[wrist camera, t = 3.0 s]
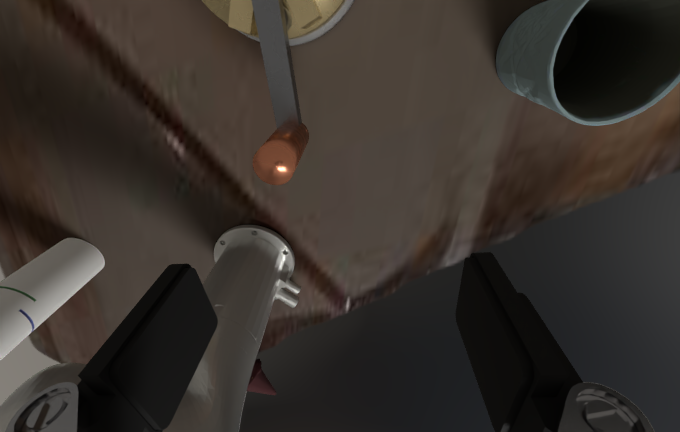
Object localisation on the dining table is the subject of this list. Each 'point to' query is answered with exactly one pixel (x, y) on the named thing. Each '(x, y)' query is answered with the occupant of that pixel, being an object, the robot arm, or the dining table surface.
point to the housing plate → (321, 31)
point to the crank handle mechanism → (278, 70)
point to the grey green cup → (593, 56)
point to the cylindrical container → (44, 288)
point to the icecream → (259, 381)
